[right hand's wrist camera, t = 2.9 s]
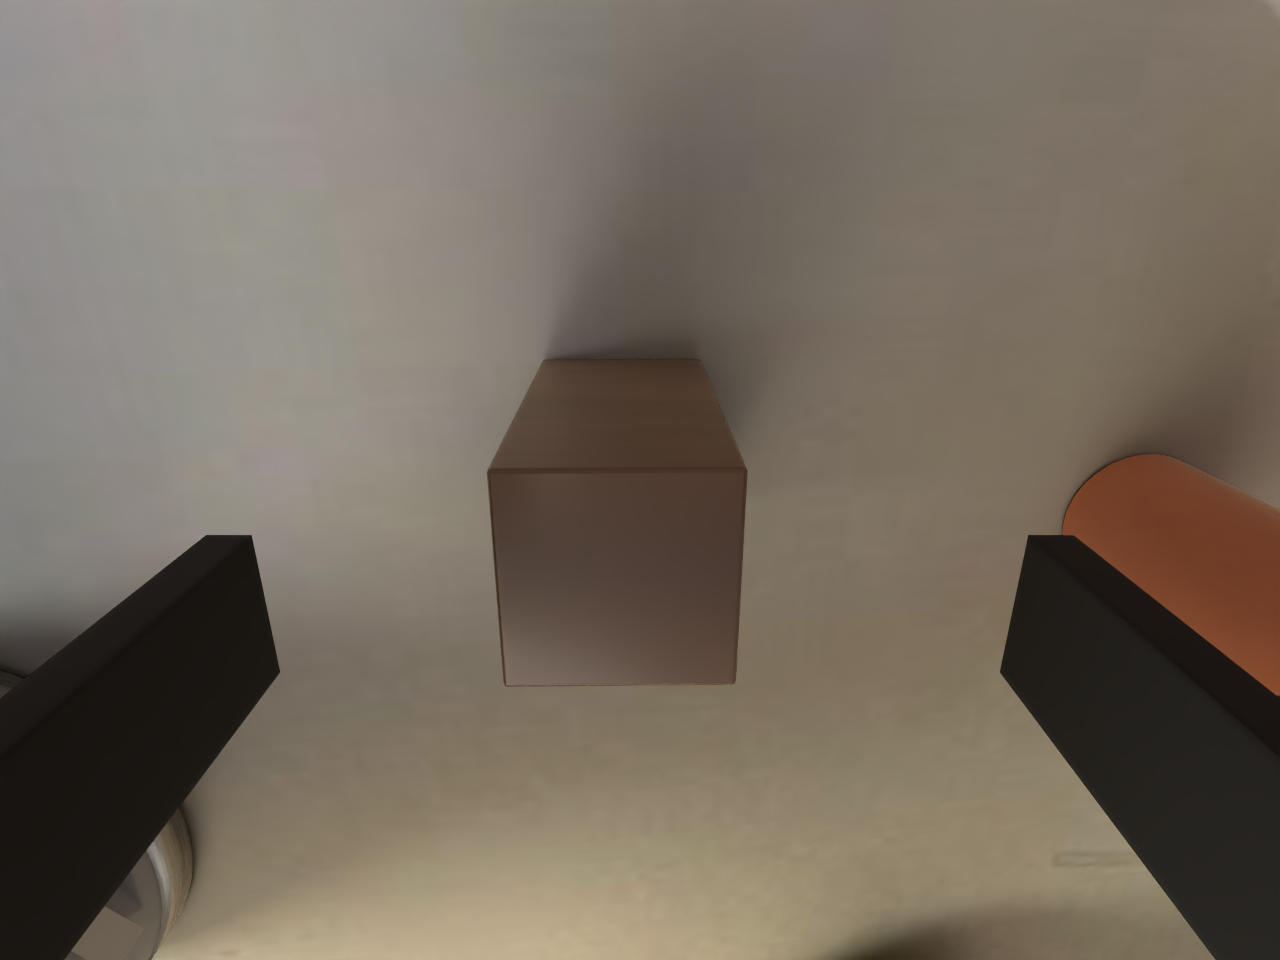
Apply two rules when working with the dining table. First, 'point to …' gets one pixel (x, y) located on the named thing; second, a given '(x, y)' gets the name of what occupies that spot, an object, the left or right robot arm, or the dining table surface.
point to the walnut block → (618, 528)
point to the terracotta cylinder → (1191, 551)
